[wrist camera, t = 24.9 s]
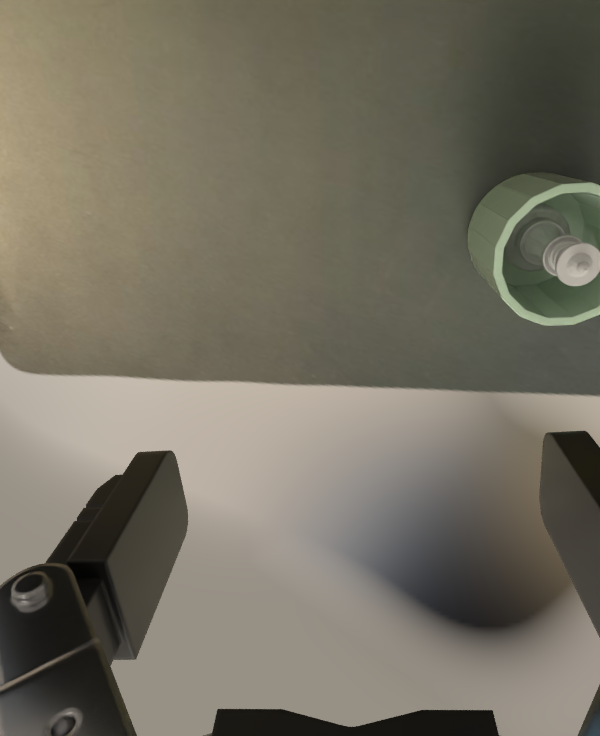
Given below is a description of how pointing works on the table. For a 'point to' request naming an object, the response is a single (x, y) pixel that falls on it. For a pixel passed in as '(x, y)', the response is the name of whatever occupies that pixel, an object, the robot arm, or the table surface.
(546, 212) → the chess piece
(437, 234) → the table surface
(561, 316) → the glazed cup
